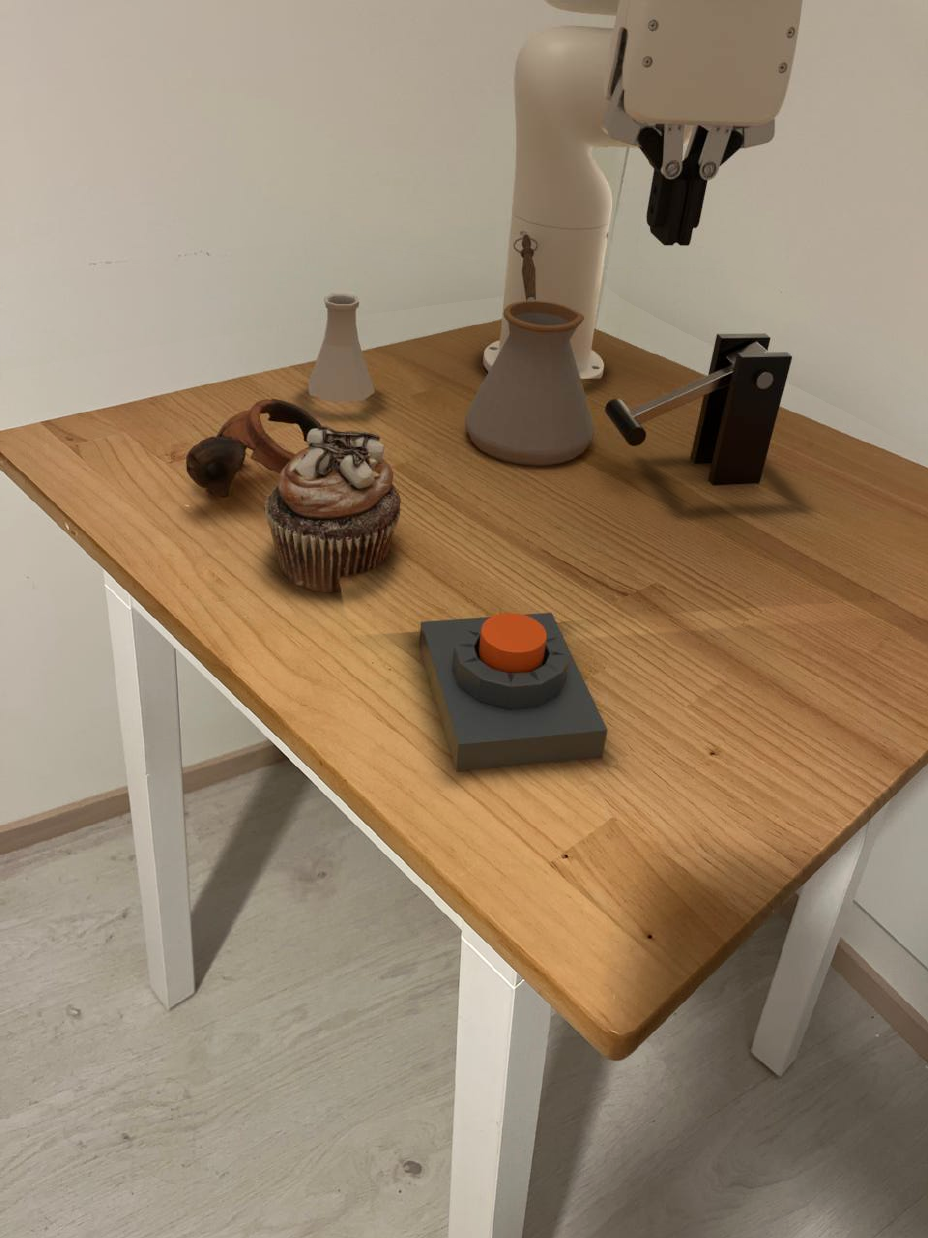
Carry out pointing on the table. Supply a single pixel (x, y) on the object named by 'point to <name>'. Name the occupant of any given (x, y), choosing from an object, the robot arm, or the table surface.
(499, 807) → the table surface
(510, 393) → the coffee pot
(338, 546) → the cupcake
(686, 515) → the table surface
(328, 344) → the flask
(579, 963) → the table surface
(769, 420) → the bracket
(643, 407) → the lever
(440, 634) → the button box
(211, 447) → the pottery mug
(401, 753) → the table surface
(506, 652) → the button
